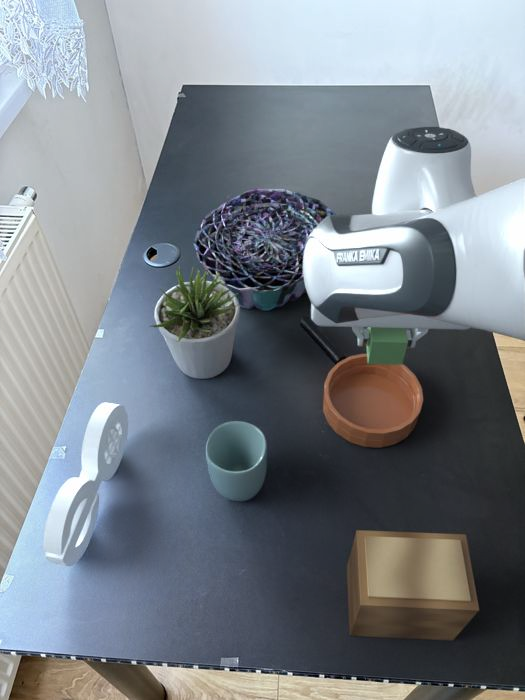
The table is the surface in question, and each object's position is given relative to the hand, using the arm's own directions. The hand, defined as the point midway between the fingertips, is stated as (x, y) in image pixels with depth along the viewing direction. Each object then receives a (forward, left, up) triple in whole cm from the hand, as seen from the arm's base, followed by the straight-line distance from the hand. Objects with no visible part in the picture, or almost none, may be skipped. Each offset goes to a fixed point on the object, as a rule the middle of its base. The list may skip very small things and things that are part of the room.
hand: (385, 343), depth 78 cm
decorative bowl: (+34, -4, -16) cm, 38 cm away
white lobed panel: (+9, +40, -16) cm, 44 cm away
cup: (0, +23, -16) cm, 28 cm away
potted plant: (+22, +17, -16) cm, 32 cm away
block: (0, 0, -2) cm, 2 cm away
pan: (0, 0, -16) cm, 16 cm away
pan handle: (+13, 0, -13) cm, 18 cm away
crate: (-24, +15, -16) cm, 32 cm away
